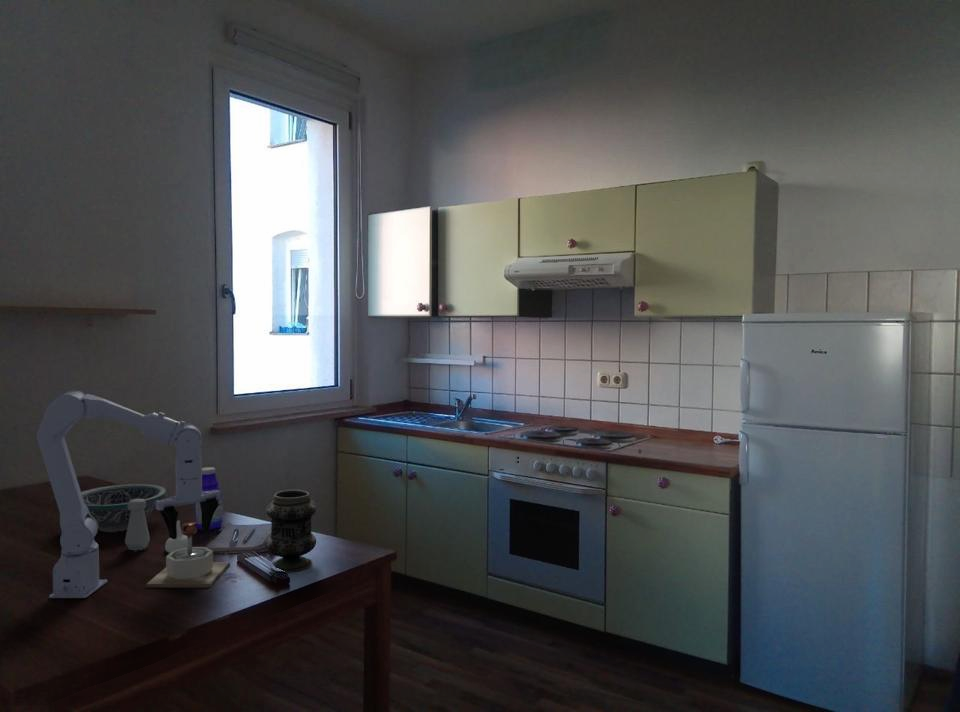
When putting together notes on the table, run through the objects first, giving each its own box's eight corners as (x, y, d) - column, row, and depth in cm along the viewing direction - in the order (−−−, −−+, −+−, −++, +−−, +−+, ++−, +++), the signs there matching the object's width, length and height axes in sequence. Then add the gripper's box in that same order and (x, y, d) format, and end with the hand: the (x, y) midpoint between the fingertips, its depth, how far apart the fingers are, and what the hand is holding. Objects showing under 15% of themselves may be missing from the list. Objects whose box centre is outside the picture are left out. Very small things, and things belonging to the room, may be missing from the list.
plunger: (198, 560, 160) (198, 528, 159) (170, 560, 160) (169, 528, 159) (208, 551, 166) (208, 520, 166) (181, 551, 166) (181, 520, 166)
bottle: (202, 533, 195) (201, 472, 194) (191, 529, 199) (190, 469, 198) (225, 527, 201) (225, 467, 200) (214, 523, 204) (214, 465, 204)
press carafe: (202, 580, 159) (202, 560, 158) (161, 579, 158) (160, 560, 158) (217, 565, 168) (217, 547, 168) (178, 565, 168) (177, 547, 167)
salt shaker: (139, 553, 178) (138, 503, 177) (120, 551, 179) (119, 502, 179) (154, 546, 184) (153, 497, 183) (135, 544, 185) (134, 496, 184)
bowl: (164, 535, 193) (163, 501, 193) (61, 545, 184) (60, 509, 183) (168, 511, 216) (168, 481, 216) (77, 519, 207) (76, 487, 207)
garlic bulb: (191, 547, 185) (191, 517, 185) (191, 552, 179) (190, 521, 179) (165, 550, 183) (165, 519, 183) (164, 555, 177) (164, 523, 177)
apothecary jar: (326, 562, 173) (326, 491, 172) (290, 578, 163) (290, 502, 162) (291, 553, 179) (291, 485, 178) (255, 568, 169) (254, 495, 168)
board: (209, 587, 156) (209, 583, 156) (146, 587, 156) (146, 583, 156) (229, 565, 170) (229, 562, 170) (172, 565, 170) (172, 561, 170)
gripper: (211, 469, 170) (211, 524, 171) (149, 479, 159) (150, 537, 160) (224, 474, 165) (225, 530, 166) (162, 484, 155) (163, 544, 155)
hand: (189, 534), depth 163 cm, fingers open, 7 cm apart
